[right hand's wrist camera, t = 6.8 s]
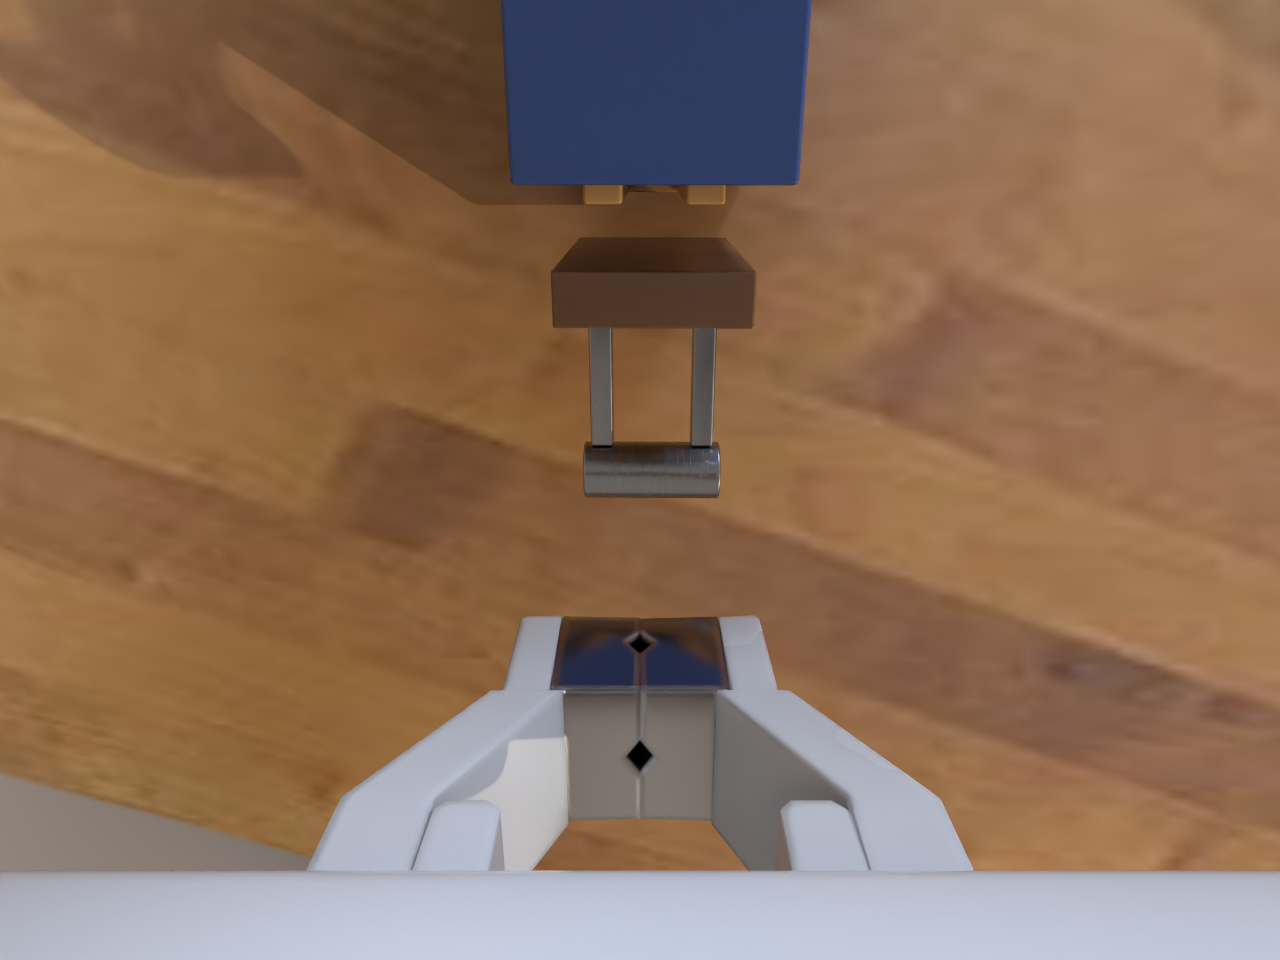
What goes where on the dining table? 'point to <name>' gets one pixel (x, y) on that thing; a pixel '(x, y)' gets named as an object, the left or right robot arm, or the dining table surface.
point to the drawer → (652, 298)
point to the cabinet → (655, 91)
